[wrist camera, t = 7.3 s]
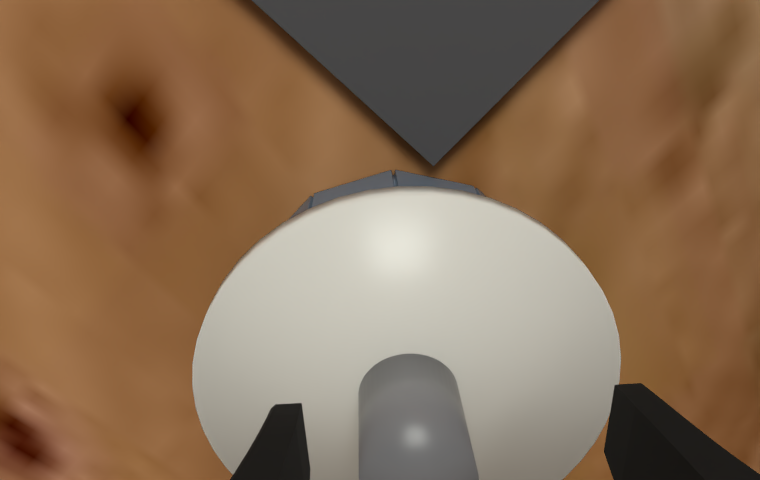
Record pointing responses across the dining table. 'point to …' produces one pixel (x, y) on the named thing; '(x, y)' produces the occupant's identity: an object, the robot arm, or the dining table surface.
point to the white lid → (412, 341)
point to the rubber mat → (428, 55)
